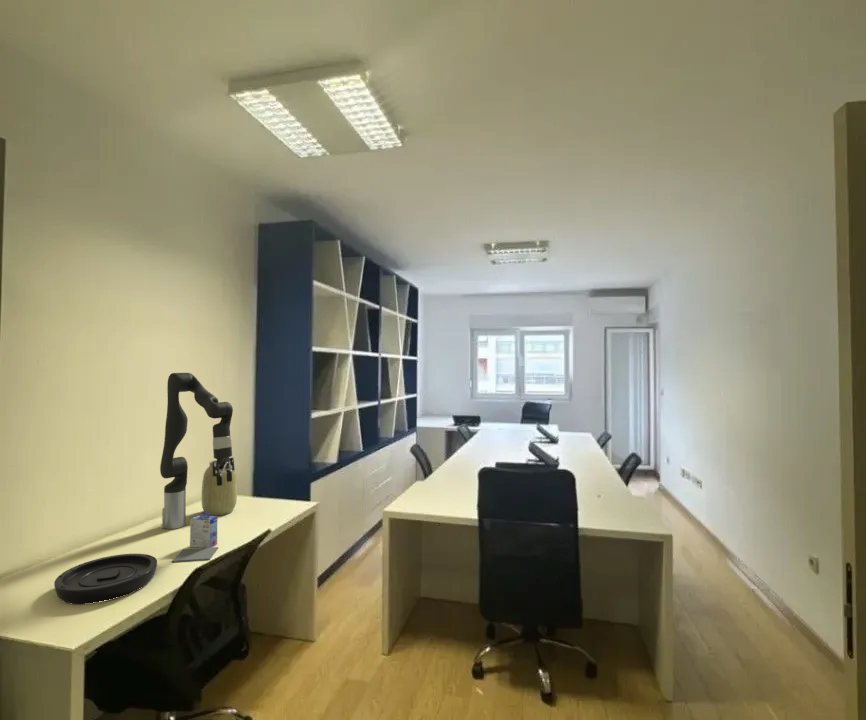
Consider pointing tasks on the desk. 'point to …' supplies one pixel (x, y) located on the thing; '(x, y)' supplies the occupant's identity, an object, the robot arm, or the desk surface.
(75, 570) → the round tray
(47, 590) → the desk surface
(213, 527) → the ink cartridge box
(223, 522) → the desk surface
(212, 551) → the mat
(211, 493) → the vase
